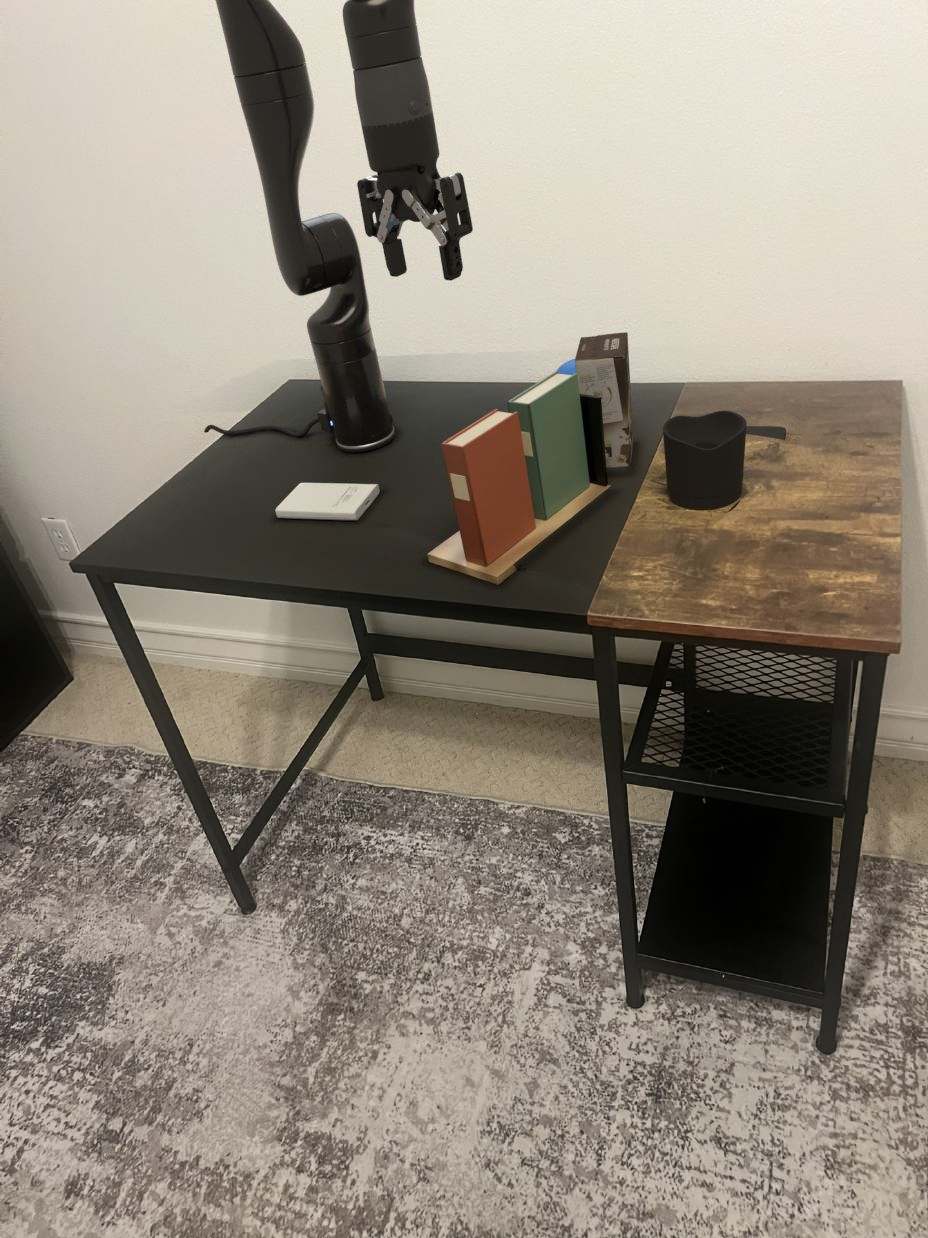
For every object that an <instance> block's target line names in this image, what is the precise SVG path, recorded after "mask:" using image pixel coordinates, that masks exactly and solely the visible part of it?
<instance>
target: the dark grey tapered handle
mask: <svg viewBox="0 0 928 1238" xmlns="http://www.w3.org/2000/svg"><path fill="white" fill-rule="evenodd" d="M746 435H751V436H758V437H764V438H771V439H775V440H781V441H785V440H786V436H787V429H786V428H785V427H783V426H772V425H771V426H769V425H768V426H767V425H759V426H758V425H746Z"/></svg>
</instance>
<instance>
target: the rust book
mask: <svg viewBox="0 0 928 1238" xmlns="http://www.w3.org/2000/svg"><path fill="white" fill-rule="evenodd" d="M440 446H441V451H442V455H443V460H444V465H445V469H446V475H447V478H448V484H449V488H450V493H451V497H452V502H453V508H454V511H455V516H456V520H457V521H456V522H457V525H458V531H460V535H461V540H462V545H463V549H464V554H465V559H466V561H469V562H472V563H476V564H479V565H483V566H488V565H489V564H490V563H492V562H493V561H494V560H495V559H497V558H498V557H499V556H501V555H502V554H503V553H504V552H506V551H507V550H508V549H509V548H511V547H512V546H513V545H515V544H516V543H517V542H518V541H520V540H521V539H522V538H524V537H525V536H526V535H527V534H529V533H530V532H531V531H533V530H534V529H535V528H536V525H535V518H534V512H533V506H532V499H531V493H530V486H529V480H528V474H527V467H526V461H525V455H524V448H523V442H522V435H521V429H520V423H519V416H518V412H514V413H513V414H512V413H509V412H505V411H499V409H498V408H494V409H493V410H492V411H490V412H488V413H487V414H485V415H483V416H482V417H481V418H479V419H477V420H476V421H474V422H473V423H471V424H469V425H468V426H466V427H465V428H463V429H461V430H459V431H458V432H457V433H455V434H454V435H452V436H450V437H448V438H447V439H446V440H444V441H443V442H441V443H440Z"/></svg>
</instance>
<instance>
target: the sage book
mask: <svg viewBox="0 0 928 1238" xmlns="http://www.w3.org/2000/svg"><path fill="white" fill-rule="evenodd" d="M506 405H507V410H508V411H507V412H508V413H512V414H513V413H514V412H518V416H519V423H520V429H521V435H522V442H523V448H524V455H525V461H526V467H527V474H528V480H529V486H530V493H531V499H532V506H533V512H534V517H535V518H539V519H543V520H547V519H548V518H549V517H550V516H552V515H553V514H554V513H556V512H557V511H558V510H559V509H561V508H562V507H563V506H565V505H566V504H567V503H568V502H570V501H571V500H572V499H574V498H575V497H576V496H577V495H579V494H580V493H581V492H582V491H584V490H585V489H586V488H588V487H589V486H590V482H589V473H588V464H587V456H586V447H585V438H584V429H583V421H582V412H581V403H580V394H579V386H578V377H577V373H575V374H573V375H565V374H558V372H557V370H556V371H553V372H552V373H551V374H549V375H547V376H546V377H544V378H542V379H541V380H540V381H538V382H536V383H534V384H533V385H531V386H530V387H528V388H526V389H525V390H524V391H522V392H520V393H519V394H517V395H515V396H514V397H512V398H511V399H508V401H506Z"/></svg>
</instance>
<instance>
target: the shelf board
mask: <svg viewBox="0 0 928 1238" xmlns="http://www.w3.org/2000/svg"><path fill="white" fill-rule="evenodd" d="M610 487H612V485H610V484H608V485H607V486H606V487H605V486H600V485H596V484H591V483H590V486H589V487H588V488H586V489H585V490H584V491H582V492H581V493H580V494H579V495H577V496H576V497H575V498H574V499H572V500H571V501H570V502H568V503H567V504H566V505H565V506H563V507H562V508H561V509H559V510H558V511H557V512H556V513H554V514H553V515H552V516H550V517H549V518H548V519H547V520H543V519H539V518H535V517H534V518H535V525H536V528H535V529H534V530H533V531H531V532H530V533H529V534H527V535H526V536H525V537H524V538H522V539H521V540H520V541H518V542H517V543H516V544H515V545H513V546H512V547H511V548H509V549H508V550H507V551H506V552H504V553H503V554H502V555H501V556H499V557H498V558H497V559H495V560H494V561H493V562H492V563H490V564H489V565H488V566H483V565H479V564H476V563H472V562H469V561H466V559H465V554H464V549H463V545H462V540H461V535H460V531H459V530H458V531H457V532H455V533H454V534H453V535H451V536H449V537H448V538H447V539H445V540H444V541H443V542H442V543H440V544H439V545H437V546H436V547H434V548H433V549H431V551H429V552H428V553H427V559H428V562H429V563H431V564H434V565H438V566H440V567H444V568H447V569H449V570H452V571H455V572H458V573H462V574H464V575H466V576H470V577H473V578H476V579H479V580H482V581H485V582H488V583H491V584H494V585H497V586H499V585H500V584H502V583H503V582H504V581H505V580H506V579H508V578H509V577H510V576H512V575H513V574H514V573H516V572H517V571H518V570H519V569H520V568H521V567H522V565H519V564H516V563H517V562H518V561H519V560H520V559H522V558H523V557H524V556H525V555H526V554H528V553H529V552H530V551H532V550H533V549H534V548H536V546H538V545H539V544H540V543H541V542H543V541H544V540H545V539H546V538H548V537H549V536H550V535H552V534H553V533H554V532H555V531H556V530H558V529H559V528H561V526H563V525H564V524H565V523H567V522H568V521H569V520H571V518H573V517H575V515H577V514H578V513H579V512H580V511H582V510H583V509H584V508H585V507H586V506H587V505H589V504H591V503H592V502H593V501H595V499H596V498H598V497H599V496H600V495H602V494H603V493H604V492H605V491H607V490H608V489H609V488H610Z"/></svg>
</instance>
